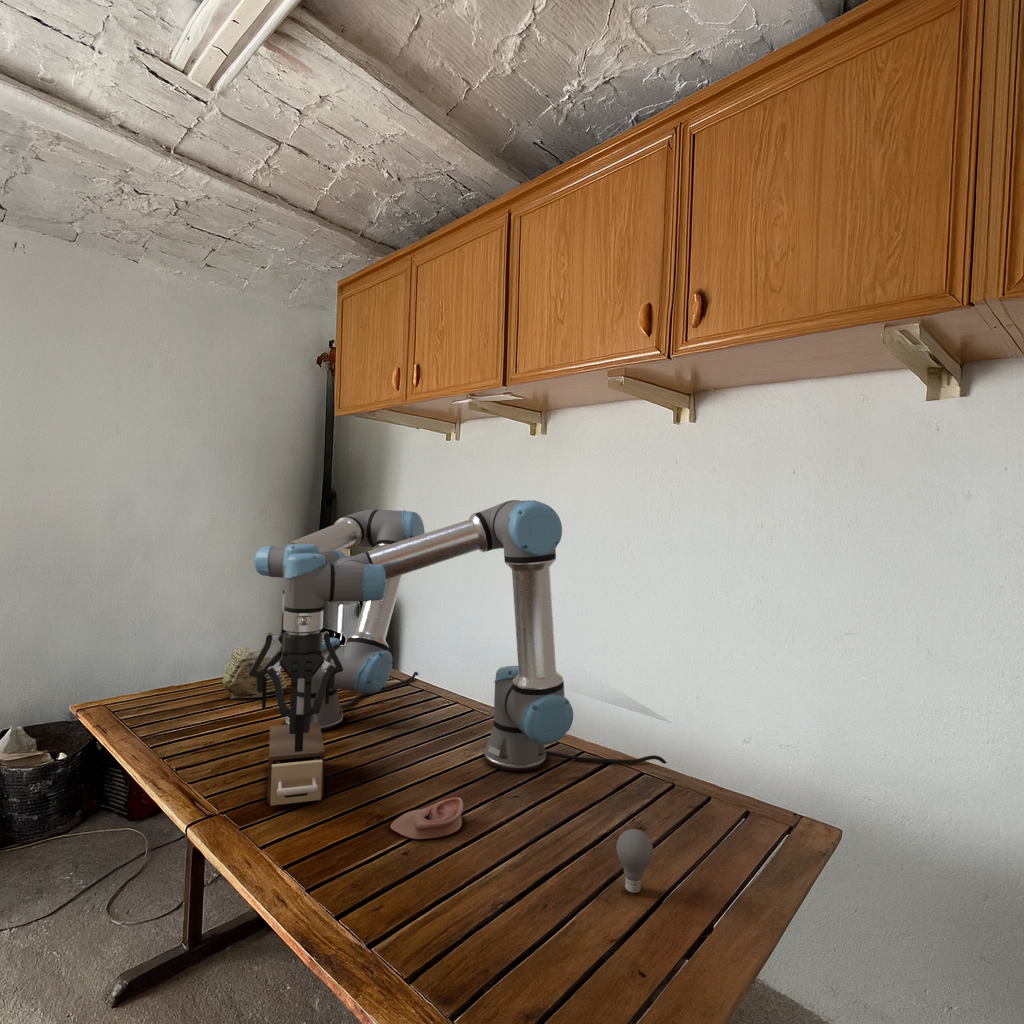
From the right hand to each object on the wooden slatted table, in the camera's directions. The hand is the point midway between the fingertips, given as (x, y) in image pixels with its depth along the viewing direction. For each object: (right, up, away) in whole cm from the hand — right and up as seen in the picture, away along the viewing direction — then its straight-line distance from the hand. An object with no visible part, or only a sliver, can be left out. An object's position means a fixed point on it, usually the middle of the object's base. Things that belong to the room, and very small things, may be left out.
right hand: (298, 748), depth 126 cm
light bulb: (+63, -16, -21) cm, 68 cm away
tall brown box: (-5, -12, +13) cm, 19 cm away
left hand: (-7, +3, +19) cm, 20 cm away
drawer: (-3, -12, +8) cm, 15 cm away
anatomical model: (+26, -14, -3) cm, 30 cm away
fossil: (-38, -10, +72) cm, 82 cm away
